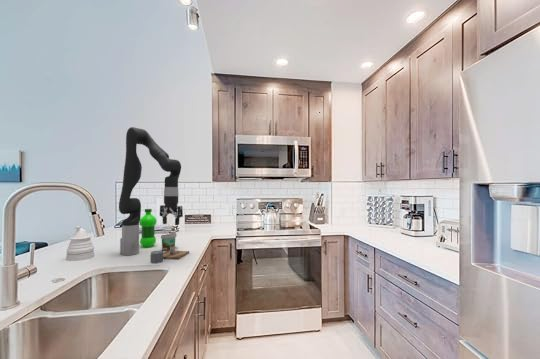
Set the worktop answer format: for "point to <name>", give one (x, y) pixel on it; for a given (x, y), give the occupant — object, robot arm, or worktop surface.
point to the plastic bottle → (148, 229)
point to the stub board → (174, 254)
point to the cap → (156, 257)
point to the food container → (168, 241)
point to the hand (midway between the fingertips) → (170, 224)
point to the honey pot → (80, 246)
